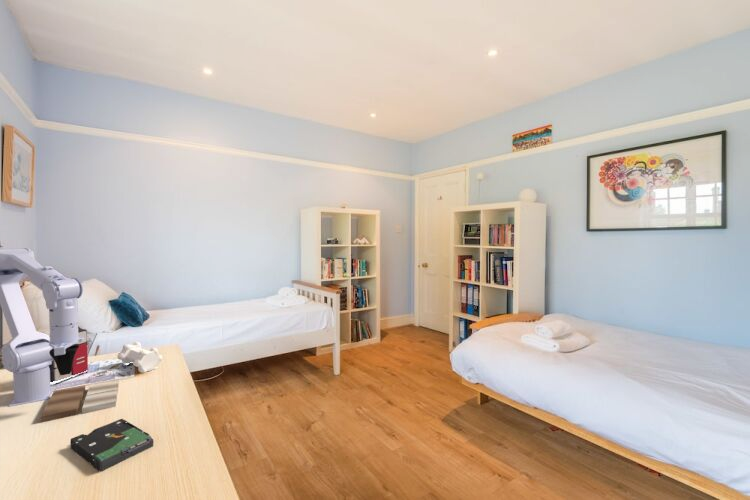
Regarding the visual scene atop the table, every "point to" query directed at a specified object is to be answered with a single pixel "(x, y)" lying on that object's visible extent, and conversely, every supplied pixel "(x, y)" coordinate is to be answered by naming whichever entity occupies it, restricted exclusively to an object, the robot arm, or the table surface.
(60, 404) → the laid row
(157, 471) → the table surface
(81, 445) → the disk drive
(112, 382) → the plank
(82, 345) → the calculator
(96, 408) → the plank
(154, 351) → the bone shaped toy
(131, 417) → the table surface
